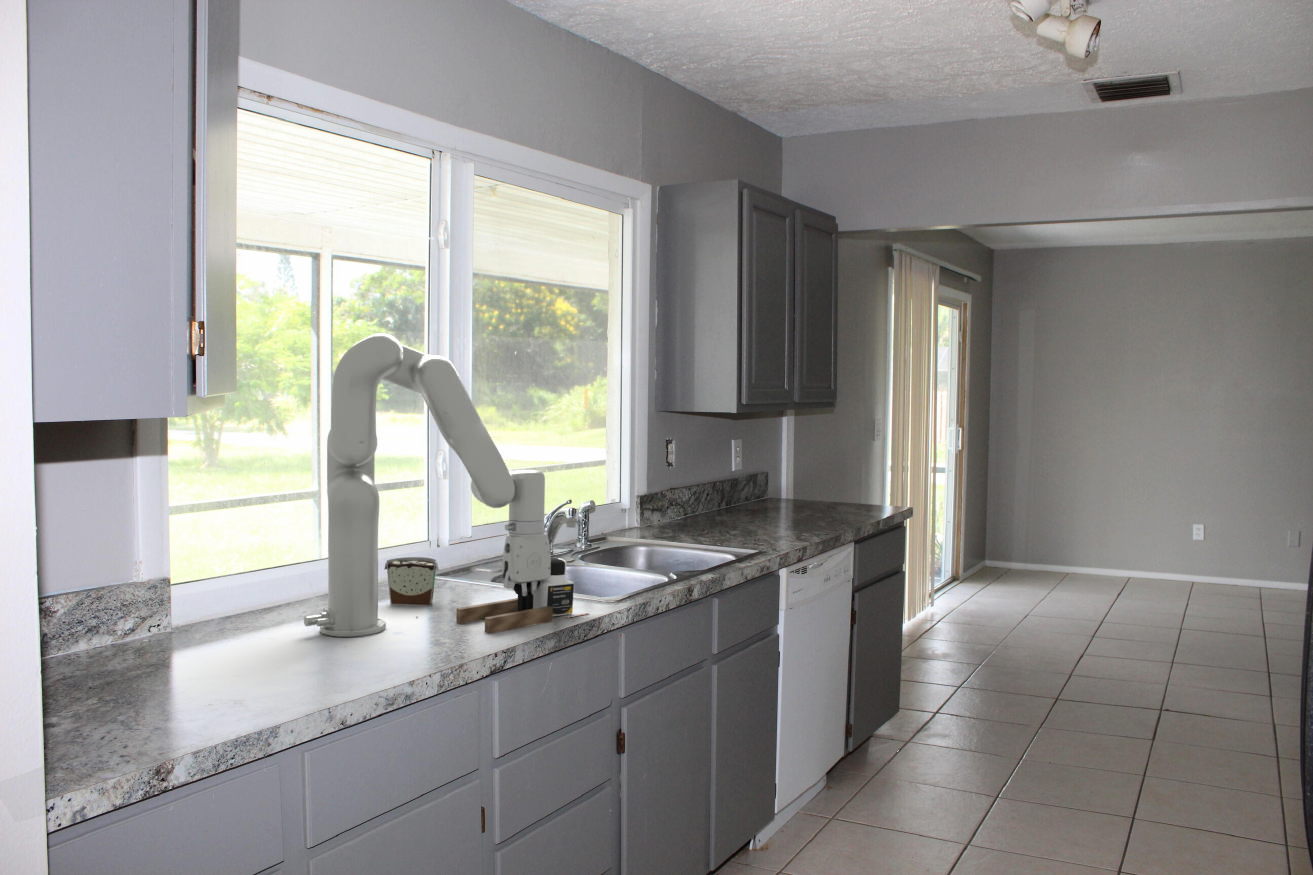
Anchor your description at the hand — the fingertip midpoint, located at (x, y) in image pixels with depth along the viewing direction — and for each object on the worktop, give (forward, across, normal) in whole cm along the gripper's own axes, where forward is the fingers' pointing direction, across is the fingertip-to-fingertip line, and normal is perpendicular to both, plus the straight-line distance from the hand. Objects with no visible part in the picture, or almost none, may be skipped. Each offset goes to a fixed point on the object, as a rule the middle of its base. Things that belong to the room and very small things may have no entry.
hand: (525, 612), depth 204 cm
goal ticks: (+1, +10, 0) cm, 10 cm away
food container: (+2, -10, +28) cm, 30 cm away
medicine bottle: (+1, +6, 0) cm, 7 cm away
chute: (+1, -5, 0) cm, 5 cm away
